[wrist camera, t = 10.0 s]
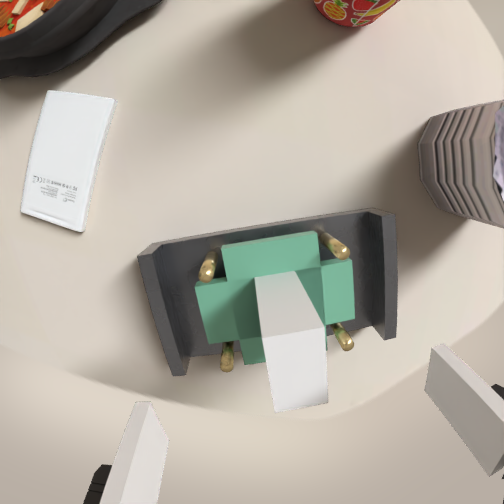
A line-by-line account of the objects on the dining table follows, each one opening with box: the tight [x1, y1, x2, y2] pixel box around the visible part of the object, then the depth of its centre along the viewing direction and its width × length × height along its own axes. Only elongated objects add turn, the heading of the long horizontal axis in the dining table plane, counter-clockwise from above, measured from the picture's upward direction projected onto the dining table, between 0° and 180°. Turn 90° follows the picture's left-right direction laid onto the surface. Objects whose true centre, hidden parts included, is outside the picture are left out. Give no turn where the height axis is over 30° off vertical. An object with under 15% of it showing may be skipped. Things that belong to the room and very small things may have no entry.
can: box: [418, 100, 504, 228], centre depth 20 cm, size 11×11×12 cm
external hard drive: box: [20, 90, 118, 232], centre depth 24 cm, size 2×8×12 cm
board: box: [195, 231, 355, 413], centre depth 20 cm, size 12×10×10 cm
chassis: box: [137, 208, 398, 376], centre depth 25 cm, size 20×11×6 cm, turn 99°
